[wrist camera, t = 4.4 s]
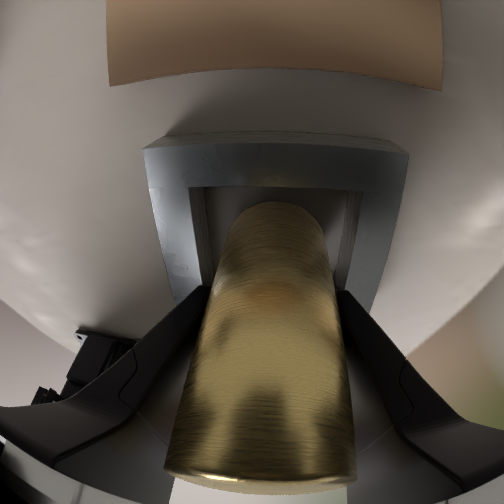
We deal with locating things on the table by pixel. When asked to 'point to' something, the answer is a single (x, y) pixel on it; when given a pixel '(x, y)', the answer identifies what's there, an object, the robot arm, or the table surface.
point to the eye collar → (275, 175)
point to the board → (276, 38)
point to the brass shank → (268, 367)
